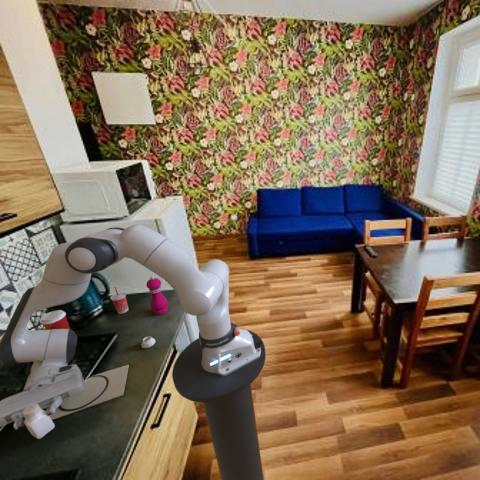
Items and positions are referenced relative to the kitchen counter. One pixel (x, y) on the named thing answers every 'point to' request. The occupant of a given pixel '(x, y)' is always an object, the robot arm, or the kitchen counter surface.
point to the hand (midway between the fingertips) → (34, 419)
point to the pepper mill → (157, 296)
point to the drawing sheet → (95, 391)
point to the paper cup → (55, 320)
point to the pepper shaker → (37, 421)
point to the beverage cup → (120, 302)
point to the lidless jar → (148, 342)
